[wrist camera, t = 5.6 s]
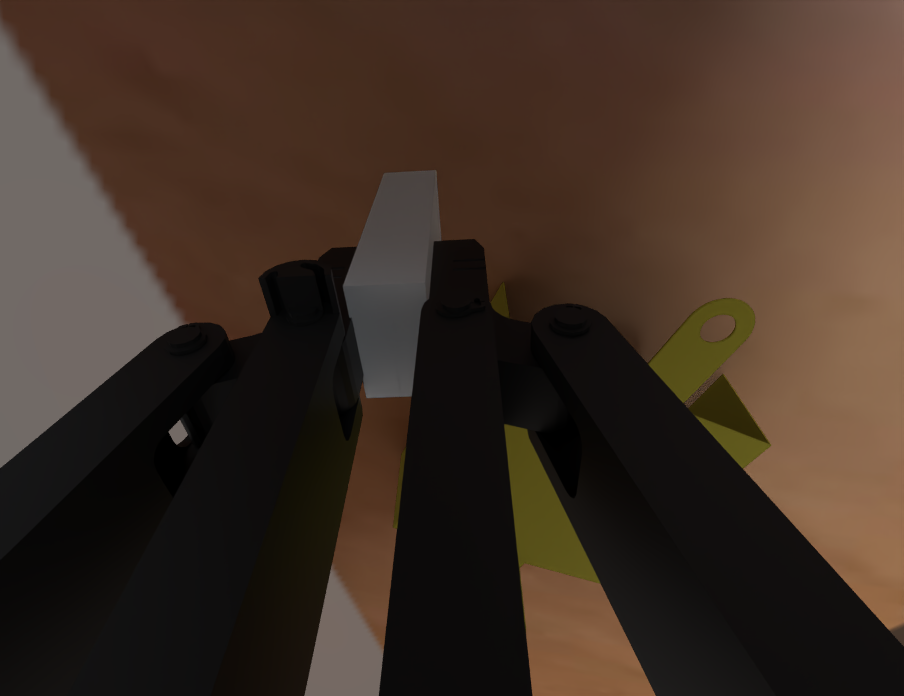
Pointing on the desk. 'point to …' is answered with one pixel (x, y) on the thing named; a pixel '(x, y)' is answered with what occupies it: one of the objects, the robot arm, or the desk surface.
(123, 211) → the desk surface
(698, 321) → the bracket
